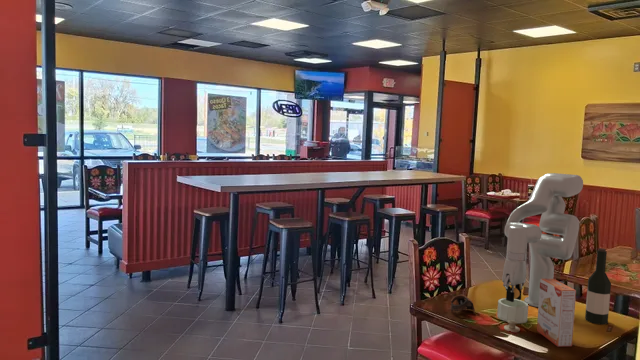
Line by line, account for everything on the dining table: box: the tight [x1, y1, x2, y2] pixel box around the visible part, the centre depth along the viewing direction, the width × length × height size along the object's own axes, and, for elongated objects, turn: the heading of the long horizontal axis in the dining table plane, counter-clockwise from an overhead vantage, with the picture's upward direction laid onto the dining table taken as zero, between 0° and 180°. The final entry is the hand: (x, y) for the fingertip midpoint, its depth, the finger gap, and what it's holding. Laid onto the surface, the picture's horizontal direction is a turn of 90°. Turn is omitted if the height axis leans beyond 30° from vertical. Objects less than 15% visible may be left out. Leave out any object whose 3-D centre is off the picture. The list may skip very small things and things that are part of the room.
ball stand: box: [503, 320, 521, 333], centre depth 185 cm, size 6×6×3 cm
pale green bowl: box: [496, 297, 529, 324], centre depth 197 cm, size 11×11×6 cm
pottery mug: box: [450, 293, 476, 315], centre depth 203 cm, size 12×10×8 cm
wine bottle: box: [584, 247, 612, 326], centre depth 196 cm, size 8×8×30 cm
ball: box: [513, 287, 520, 299], centre depth 196 cm, size 4×4×4 cm
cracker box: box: [536, 278, 577, 348], centre depth 176 cm, size 14×6×21 cm, turn 5°
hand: (513, 299), depth 197 cm, fingers closed on ball, 4 cm apart
